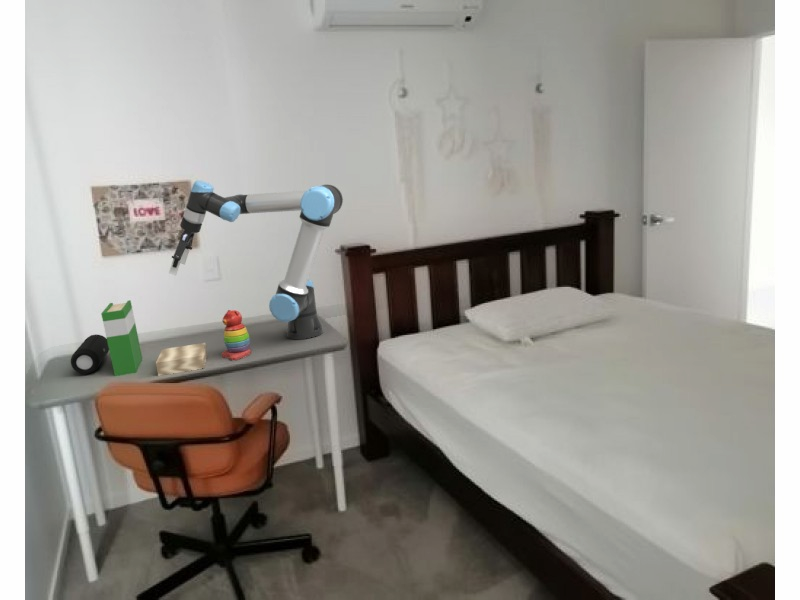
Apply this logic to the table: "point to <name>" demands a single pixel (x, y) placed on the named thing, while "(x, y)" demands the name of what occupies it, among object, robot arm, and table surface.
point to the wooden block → (181, 359)
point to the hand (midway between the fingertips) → (177, 268)
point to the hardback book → (122, 338)
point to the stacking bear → (235, 336)
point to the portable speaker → (90, 354)
